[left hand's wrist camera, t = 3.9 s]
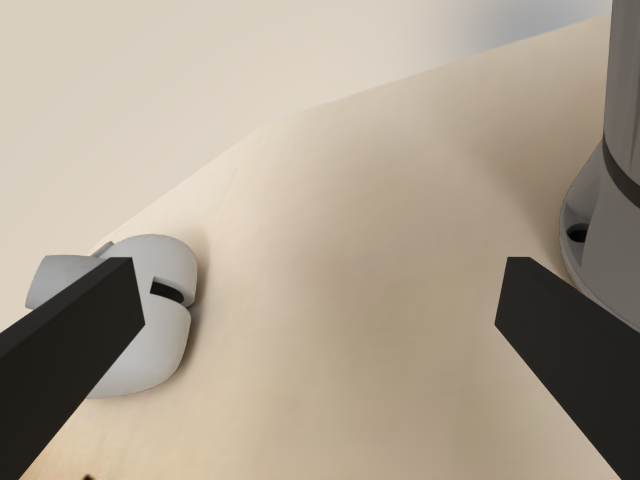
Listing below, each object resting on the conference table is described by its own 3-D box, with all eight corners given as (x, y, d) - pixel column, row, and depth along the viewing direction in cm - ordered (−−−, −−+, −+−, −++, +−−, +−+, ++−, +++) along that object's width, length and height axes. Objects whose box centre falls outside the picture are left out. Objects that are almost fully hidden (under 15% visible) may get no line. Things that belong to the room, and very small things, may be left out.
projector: (168, 231, 52) (68, 169, 42) (253, 287, 37) (127, 211, 26) (69, 364, 48) (-70, 332, 38) (118, 493, 32) (-96, 498, 22)
